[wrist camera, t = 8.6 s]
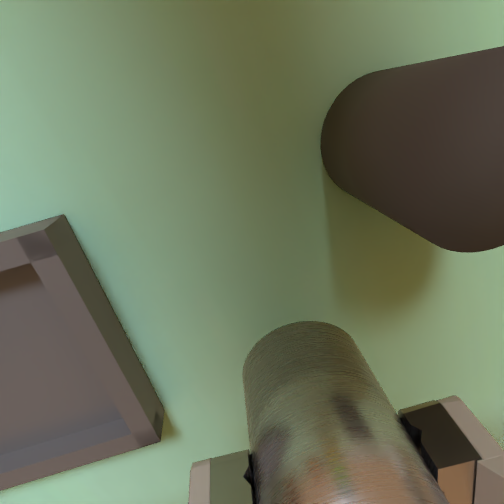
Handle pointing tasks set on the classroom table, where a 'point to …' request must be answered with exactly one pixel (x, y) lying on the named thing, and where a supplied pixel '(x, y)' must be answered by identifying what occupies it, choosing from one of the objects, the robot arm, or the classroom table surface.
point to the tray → (63, 361)
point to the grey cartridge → (326, 425)
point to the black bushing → (426, 147)
